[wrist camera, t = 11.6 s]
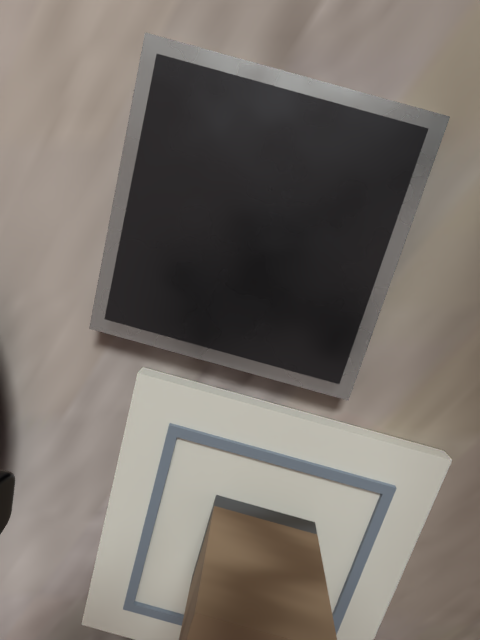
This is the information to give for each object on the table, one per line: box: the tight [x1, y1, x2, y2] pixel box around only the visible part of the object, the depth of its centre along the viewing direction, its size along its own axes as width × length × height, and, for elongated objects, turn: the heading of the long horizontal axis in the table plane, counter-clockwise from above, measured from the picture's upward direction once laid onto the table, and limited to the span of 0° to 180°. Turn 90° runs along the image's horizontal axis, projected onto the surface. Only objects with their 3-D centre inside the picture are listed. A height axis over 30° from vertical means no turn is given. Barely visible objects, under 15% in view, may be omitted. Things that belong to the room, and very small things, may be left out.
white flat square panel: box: [81, 367, 452, 640], centre depth 19 cm, size 15×15×1 cm
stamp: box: [179, 495, 337, 640], centre depth 16 cm, size 5×5×6 cm
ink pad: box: [89, 33, 450, 400], centre depth 16 cm, size 12×12×2 cm
